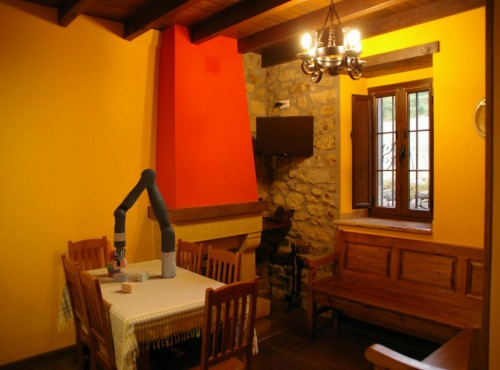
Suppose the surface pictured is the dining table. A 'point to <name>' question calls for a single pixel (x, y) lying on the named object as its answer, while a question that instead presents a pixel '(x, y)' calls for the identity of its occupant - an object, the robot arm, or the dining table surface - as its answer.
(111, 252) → the stacking bear
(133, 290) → the ochre brick
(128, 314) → the dining table surface
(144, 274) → the sage brick
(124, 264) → the terracotta brick
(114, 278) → the slate brick
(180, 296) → the dining table surface
